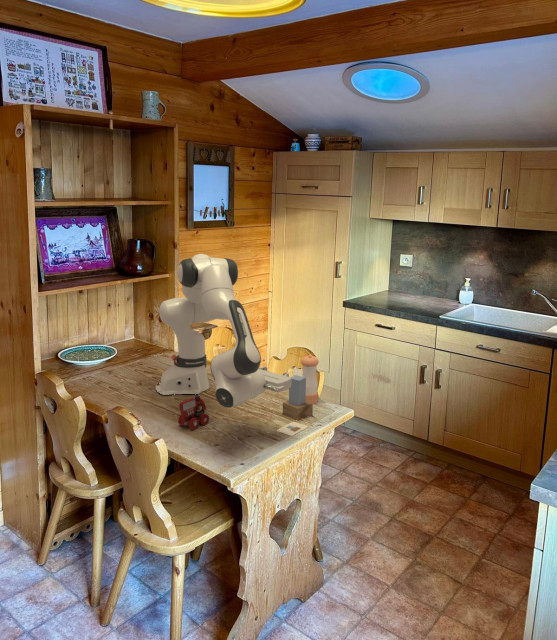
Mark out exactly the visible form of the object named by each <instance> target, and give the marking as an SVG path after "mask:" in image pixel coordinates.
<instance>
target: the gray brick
mask: <svg viewBox="0 0 557 640" xmlns="http://www.w3.org/2000/svg"><path fill="white" fill-rule="evenodd" d="M290 378H291V381H292V383H291V388H289V389H288V401H289V404H293V405H296V406H300V405H302V404H304V403H305V399H306V377H302V375H297V374H295V375H293V376H291V377H290Z"/></svg>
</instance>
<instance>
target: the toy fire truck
mask: <svg viewBox="0 0 557 640" xmlns="http://www.w3.org/2000/svg"><path fill="white" fill-rule="evenodd" d="M194 396H195V397H191V398H188V399H186V400H184V401H181V402H179V407H178V408H179V410H180V415H179V417H178V419H177V423H178V425H179V426H182V427H184V426H185V427H186V426H188V427H189V429H190V430H194V431H195V430H196V429H197V428H198V427H199V424H200V425H201V426H206V425H207V424H208V423H209V421H210V416H209V415H208V414H207V412H208V410H207V405H206V403H205V402H204V400H203V399H202V398H201V397H200V395H199V394H198V395H194Z"/></svg>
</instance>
